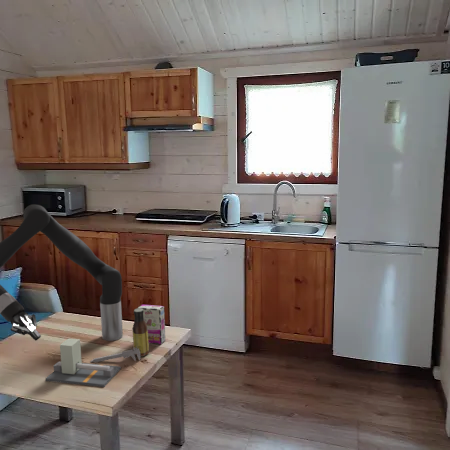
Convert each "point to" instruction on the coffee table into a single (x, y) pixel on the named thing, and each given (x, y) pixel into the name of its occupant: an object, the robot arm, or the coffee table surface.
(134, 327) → the sauce bottle
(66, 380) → the pipe rig
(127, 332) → the coffee table surface
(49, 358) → the coffee table surface
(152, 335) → the candy bar box
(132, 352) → the caliper
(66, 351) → the sage green block
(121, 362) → the coffee table surface
